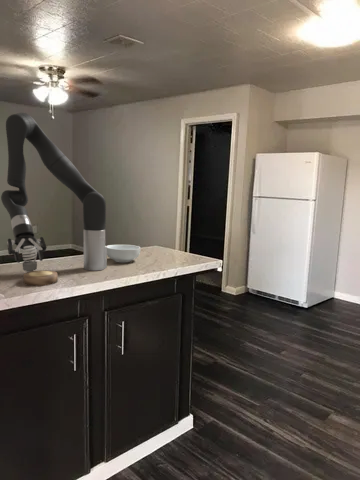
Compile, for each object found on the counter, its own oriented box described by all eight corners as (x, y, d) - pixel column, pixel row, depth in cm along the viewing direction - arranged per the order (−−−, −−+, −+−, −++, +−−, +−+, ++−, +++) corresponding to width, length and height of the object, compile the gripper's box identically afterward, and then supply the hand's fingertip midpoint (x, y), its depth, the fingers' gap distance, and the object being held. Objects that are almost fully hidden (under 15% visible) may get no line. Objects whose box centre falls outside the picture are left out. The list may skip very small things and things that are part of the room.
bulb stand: (42, 276, 156) (42, 268, 155) (64, 281, 150) (64, 272, 149) (16, 282, 145) (16, 274, 145) (38, 287, 139) (38, 278, 139)
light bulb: (39, 274, 159) (38, 244, 158) (34, 277, 154) (34, 247, 152) (25, 273, 159) (24, 244, 157) (20, 277, 153) (19, 246, 152)
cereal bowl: (144, 263, 186) (144, 249, 185) (109, 265, 180) (109, 250, 179) (135, 257, 202) (135, 243, 201) (102, 258, 195) (102, 244, 194)
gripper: (5, 223, 155) (12, 256, 148) (41, 222, 164) (50, 253, 156) (2, 234, 160) (9, 267, 153) (38, 233, 169) (46, 264, 161)
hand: (30, 260), depth 154 cm, fingers open, 8 cm apart
